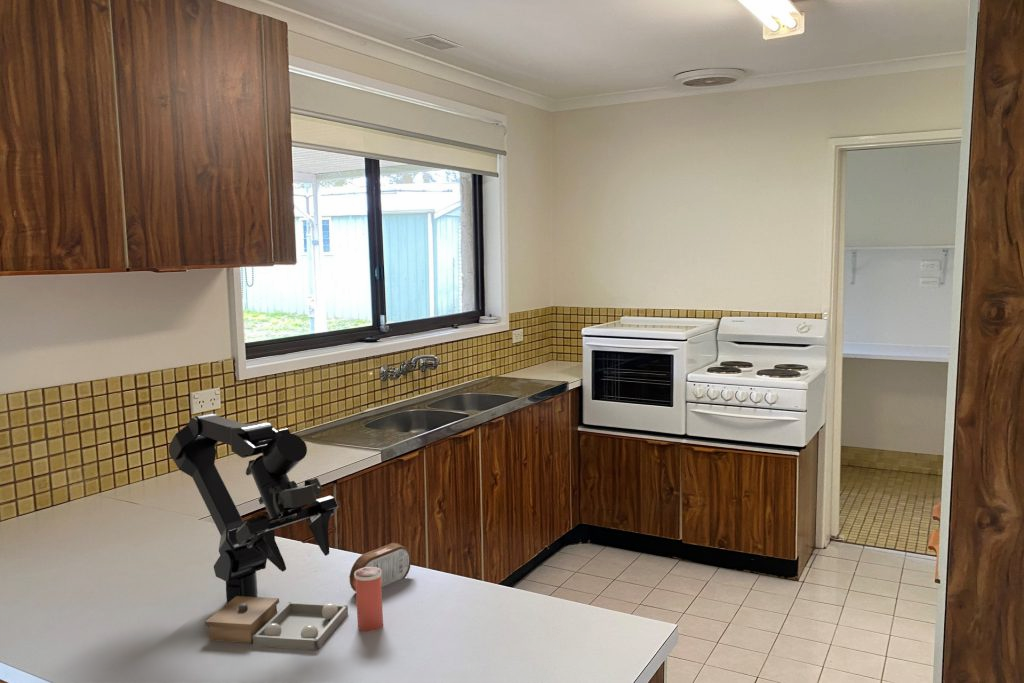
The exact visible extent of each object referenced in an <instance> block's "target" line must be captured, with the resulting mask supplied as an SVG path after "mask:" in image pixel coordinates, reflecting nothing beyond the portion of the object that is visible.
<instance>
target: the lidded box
mask: <svg viewBox="0 0 1024 683" xmlns="http://www.w3.org/2000/svg"><path fill="white" fill-rule="evenodd" d="M279 603H280V598H279V597H264V596H263V597H262V596H257V597H246V596H236V597H235V598H233V599H232V600H231V601H230V602H228V603H227V602H226V604H225V605H223V606H222V607H221V608H220V609H219V610H218V611H216V612H215V613H214V614H212V616H210V617H209V618H207V619H206V620H205V621H204V624H205V627H208V633H209V641H218V642H234V643H247V644H248V643H249V644H252V643H253V636H254V635H255V634H256V633H257V632H258V631H259V630H260V629H261V628H262V627H263V626H264V625H265V624H266V623H267V622H269V621H270V620H271V619H272V618H273V617H274V616H275V615H276V614H277V613H278V608H277V607H278V604H279Z"/></svg>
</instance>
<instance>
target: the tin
mask: <svg viewBox="0 0 1024 683" xmlns="http://www.w3.org/2000/svg"><path fill="white" fill-rule="evenodd" d="M411 563H412V556H411V552H410V550H409V549H408V548H407V547H405V546H404V545H401V544H400V543H398V542H391V543H388V544H386V545H384V546H383V545H382V547H379V548H376V549H373V550H371V551H368V552H365V553H363V554H362V555H360V556H359V557H358V558H357V559H356V560H355V562H354V563H353V565H352V566H351V569H350V574H349V585H350V587H351V589H352V590H353V591H354V592H355V593H356V581H355V577H354V573H355V571H357V570H358V569H361V568H365V567H376V568H379V569H381V572H382V575H381V588H383V587H385V586H388V585H390V584H392V583H394V582H396V581H399V580H402V579H405V578H406V577H407V576H408V574H409V571H410V569H411V565H412V564H411Z"/></svg>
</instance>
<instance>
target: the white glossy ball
mask: <svg viewBox="0 0 1024 683" xmlns="http://www.w3.org/2000/svg"><path fill="white" fill-rule="evenodd" d="M317 636H318V630H317V628H316V627H315V626H313V625H308V626H305V627H304V628H303V629H302V631H301V638H311V639H315V638H316V637H317Z"/></svg>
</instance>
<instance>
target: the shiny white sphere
mask: <svg viewBox="0 0 1024 683" xmlns="http://www.w3.org/2000/svg"><path fill="white" fill-rule="evenodd" d="M281 632H282V630H281V627H280V625H279V624H277V623H270V624H268V625H267V626H266V628H265V630H264V635H265V636H280V635H281Z"/></svg>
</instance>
